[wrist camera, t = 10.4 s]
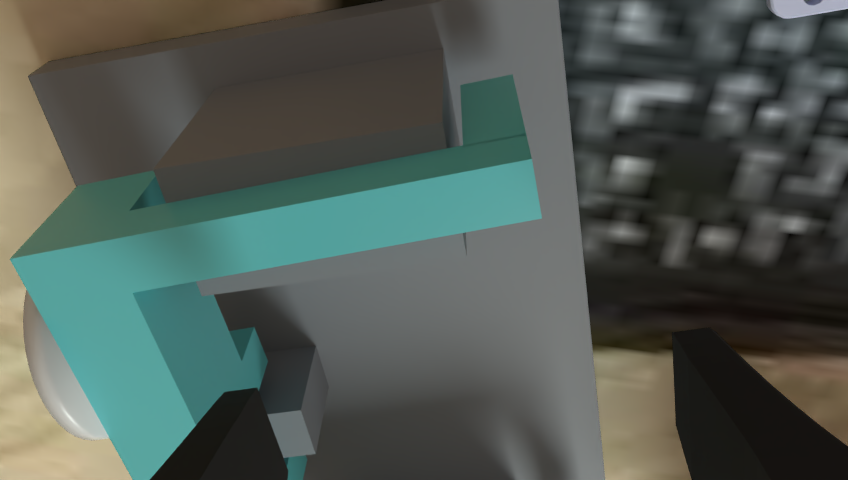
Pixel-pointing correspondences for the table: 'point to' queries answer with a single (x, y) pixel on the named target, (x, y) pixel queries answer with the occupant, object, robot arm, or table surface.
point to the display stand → (383, 267)
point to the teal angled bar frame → (230, 272)
